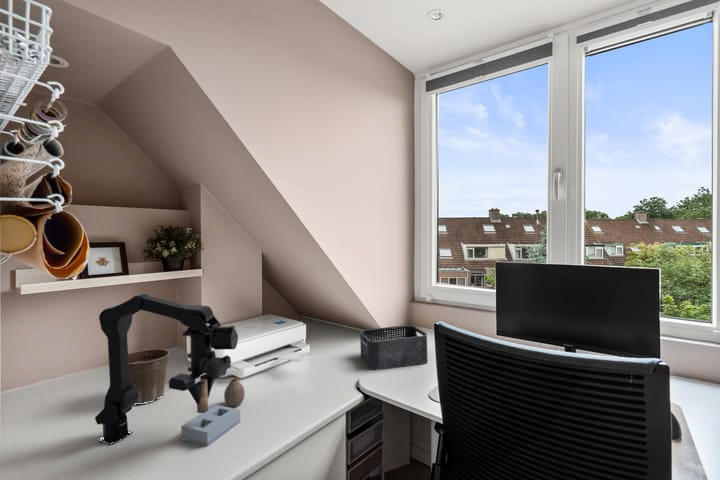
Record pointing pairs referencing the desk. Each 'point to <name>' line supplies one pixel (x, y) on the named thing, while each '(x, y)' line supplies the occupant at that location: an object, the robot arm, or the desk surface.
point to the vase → (234, 393)
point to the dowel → (203, 397)
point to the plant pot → (148, 372)
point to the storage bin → (393, 347)
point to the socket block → (210, 425)
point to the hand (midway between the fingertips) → (202, 400)
